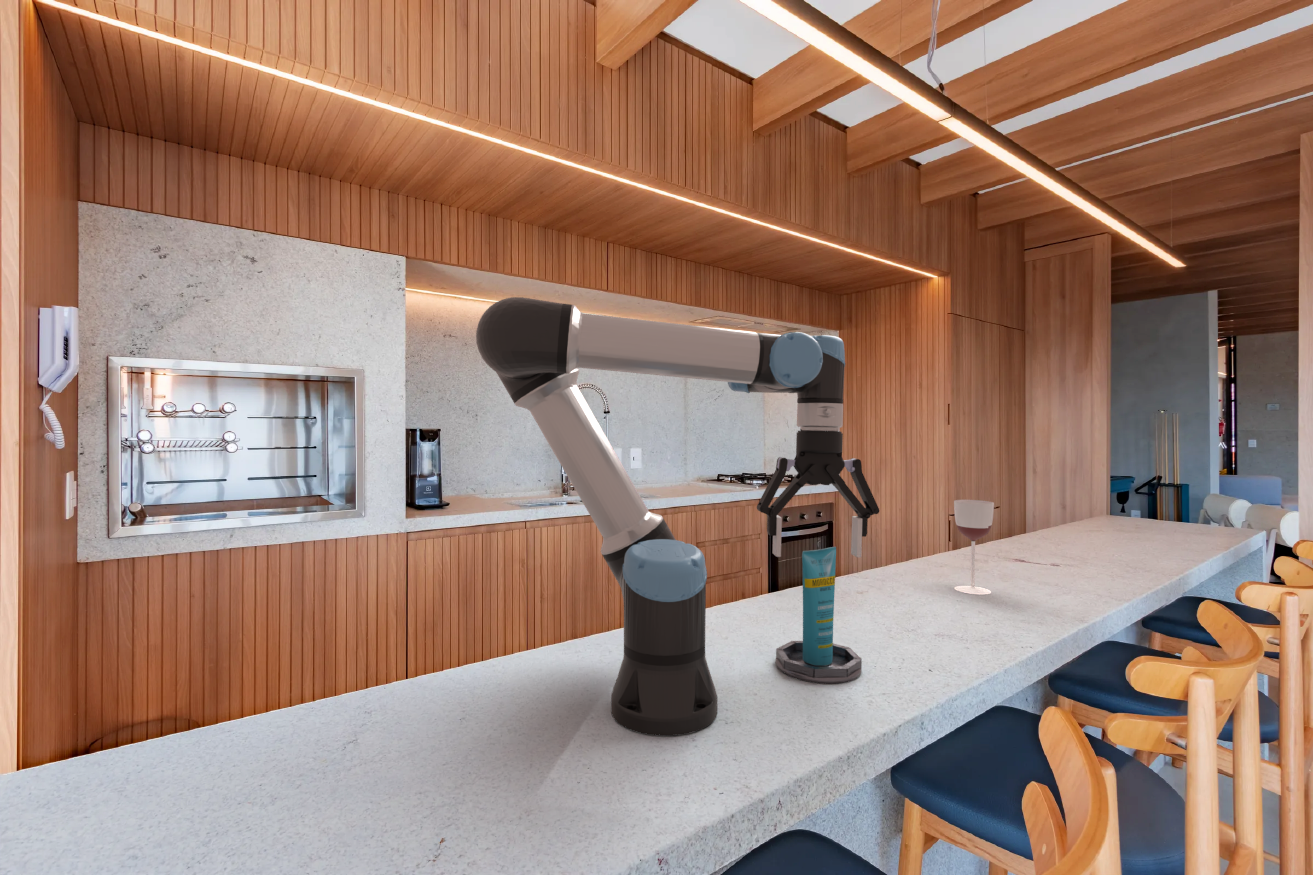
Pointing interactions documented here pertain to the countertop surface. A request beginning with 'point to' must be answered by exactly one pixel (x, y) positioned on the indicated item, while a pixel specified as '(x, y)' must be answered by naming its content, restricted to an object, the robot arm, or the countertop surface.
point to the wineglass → (973, 532)
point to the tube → (818, 605)
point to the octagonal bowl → (839, 671)
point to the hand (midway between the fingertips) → (816, 555)
